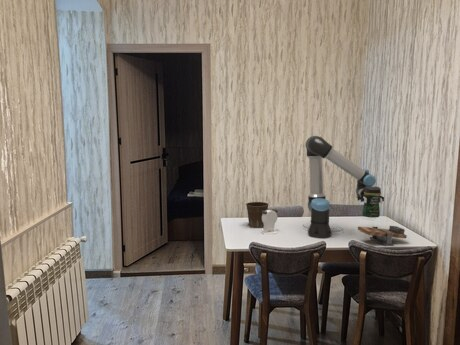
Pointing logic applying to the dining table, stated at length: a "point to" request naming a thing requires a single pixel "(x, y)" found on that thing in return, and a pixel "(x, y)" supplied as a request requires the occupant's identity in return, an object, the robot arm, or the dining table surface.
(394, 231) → the seesaw beam
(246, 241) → the dining table surface
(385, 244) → the beam stand
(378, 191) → the coffee jar
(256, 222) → the plant pot
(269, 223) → the white sculpture
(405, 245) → the dining table surface
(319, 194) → the robot arm
